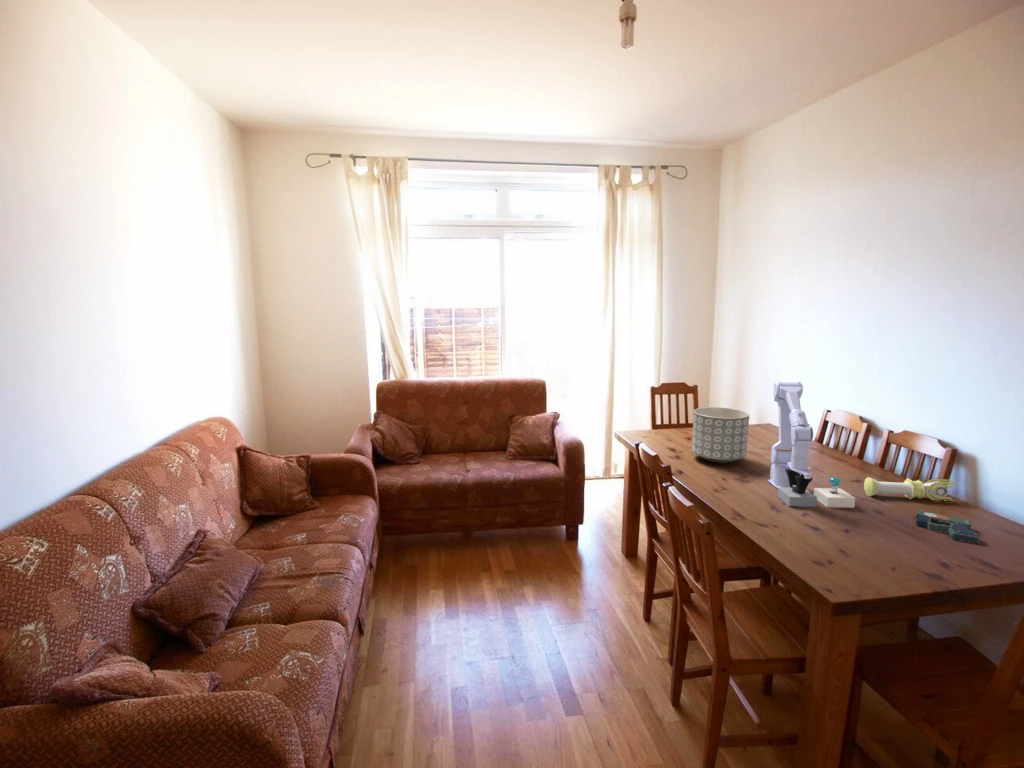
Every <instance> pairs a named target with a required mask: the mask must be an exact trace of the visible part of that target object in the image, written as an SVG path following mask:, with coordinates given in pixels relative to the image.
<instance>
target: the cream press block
mask: <svg viewBox="0 0 1024 768" xmlns="http://www.w3.org/2000/svg"><path fill="white" fill-rule="evenodd" d="M831 489H832V487H814V488H813V493H812V494H813V495H815V496H816V497H817V502H819V503H821V504H822V505H823V506H825V507H826V508H853V509H855V505H856V504H855V503H856V497H855V496H853V495H851V494H850V493H848V492H847V491H846V490H844V489H842V488H841V487H838V491H837V494H832V493H831Z"/></svg>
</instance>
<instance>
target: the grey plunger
mask: <svg viewBox="0 0 1024 768" xmlns="http://www.w3.org/2000/svg"><path fill="white" fill-rule="evenodd" d="M792 491H794V493H795V494H798V489H797V484H792Z"/></svg>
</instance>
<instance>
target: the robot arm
mask: <svg viewBox="0 0 1024 768" xmlns="http://www.w3.org/2000/svg"><path fill="white" fill-rule="evenodd" d="M803 391H804V387H803V384H802V382H801V381H776V382H774V384H773V401H774V402H775V403H777V406H778V441H777V442H776V443H774V444H773V445H772V446H771V452H770V461H771V463H772V464H771V466H770V472H769V473H770V474H769V475H770V476H769V479H767V482H769V483H770V484H771V485H773V486H774V487H775V488H776V489H778V487H780V488H792V484H797V489H798V494H804V493H805V491H806V490H807V488H808V486H809V485H810V483H811V482H812V480H813V477H812V473H810V471H811V467H809V465H808V464H809V456H810V443H811V442H812V441H813V439H814V430H813V426H811V425H810V423H808V419H807V416H806V413H805V411H803V410H802V407H801V402H800V401H801V400H800V399H801V398H802V396H803V393H804V392H803Z"/></svg>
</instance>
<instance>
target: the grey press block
mask: <svg viewBox="0 0 1024 768" xmlns="http://www.w3.org/2000/svg"><path fill="white" fill-rule="evenodd" d="M813 494H814V493H811V492H810V491H809V490H808V489H806V491H805V493H804V494H795V493H794V491H792V488H780V487H778V488H777V493H776V496H778V497H779V498H780V499H781V500H780V499H779V498H778V497H777V498H778V499H779V500H780V501H782V502H783V501H784V502H785V503H786V504H787V505H786V504H785V503H784V502H783V503H784V504H785V505H786V506H787V507H789V506H798V507H797V508H817V502H818V500H817V497H816V496H815V495H813Z"/></svg>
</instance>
